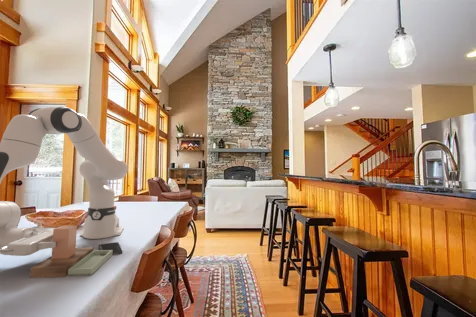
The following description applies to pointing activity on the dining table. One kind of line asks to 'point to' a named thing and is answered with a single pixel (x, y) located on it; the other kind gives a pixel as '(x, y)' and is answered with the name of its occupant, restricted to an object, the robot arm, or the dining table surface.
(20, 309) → the dining table surface
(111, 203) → the robot arm
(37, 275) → the platform
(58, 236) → the terracotta block
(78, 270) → the box
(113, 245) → the phone
